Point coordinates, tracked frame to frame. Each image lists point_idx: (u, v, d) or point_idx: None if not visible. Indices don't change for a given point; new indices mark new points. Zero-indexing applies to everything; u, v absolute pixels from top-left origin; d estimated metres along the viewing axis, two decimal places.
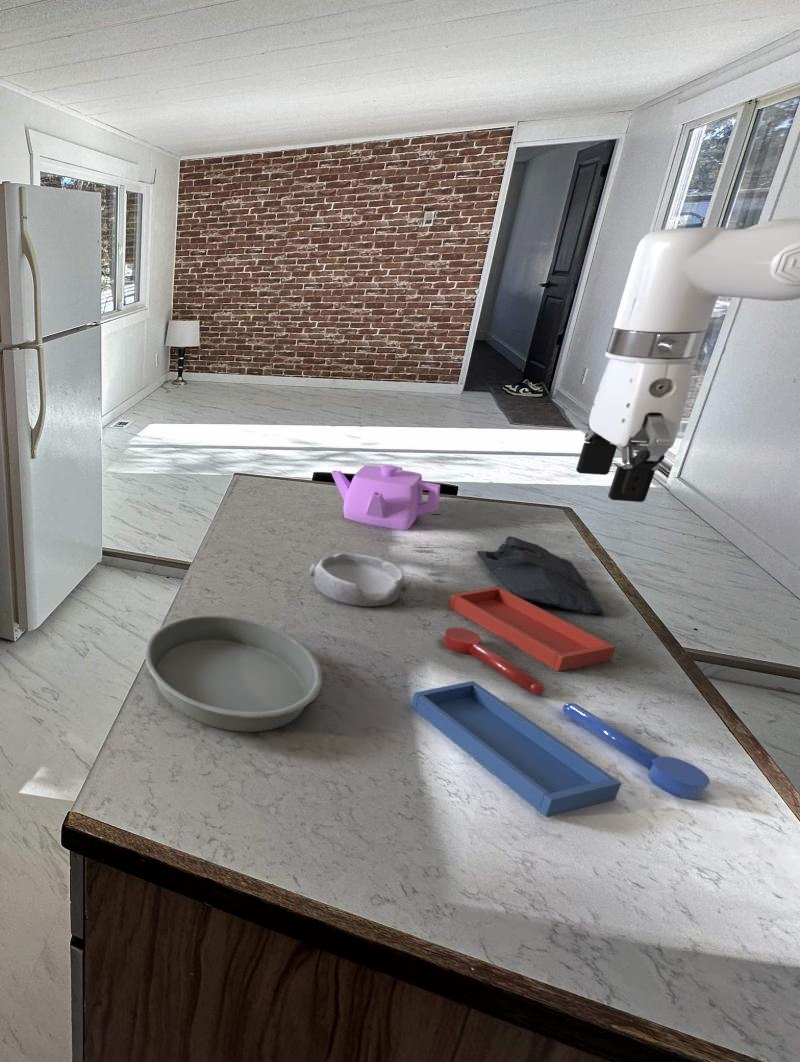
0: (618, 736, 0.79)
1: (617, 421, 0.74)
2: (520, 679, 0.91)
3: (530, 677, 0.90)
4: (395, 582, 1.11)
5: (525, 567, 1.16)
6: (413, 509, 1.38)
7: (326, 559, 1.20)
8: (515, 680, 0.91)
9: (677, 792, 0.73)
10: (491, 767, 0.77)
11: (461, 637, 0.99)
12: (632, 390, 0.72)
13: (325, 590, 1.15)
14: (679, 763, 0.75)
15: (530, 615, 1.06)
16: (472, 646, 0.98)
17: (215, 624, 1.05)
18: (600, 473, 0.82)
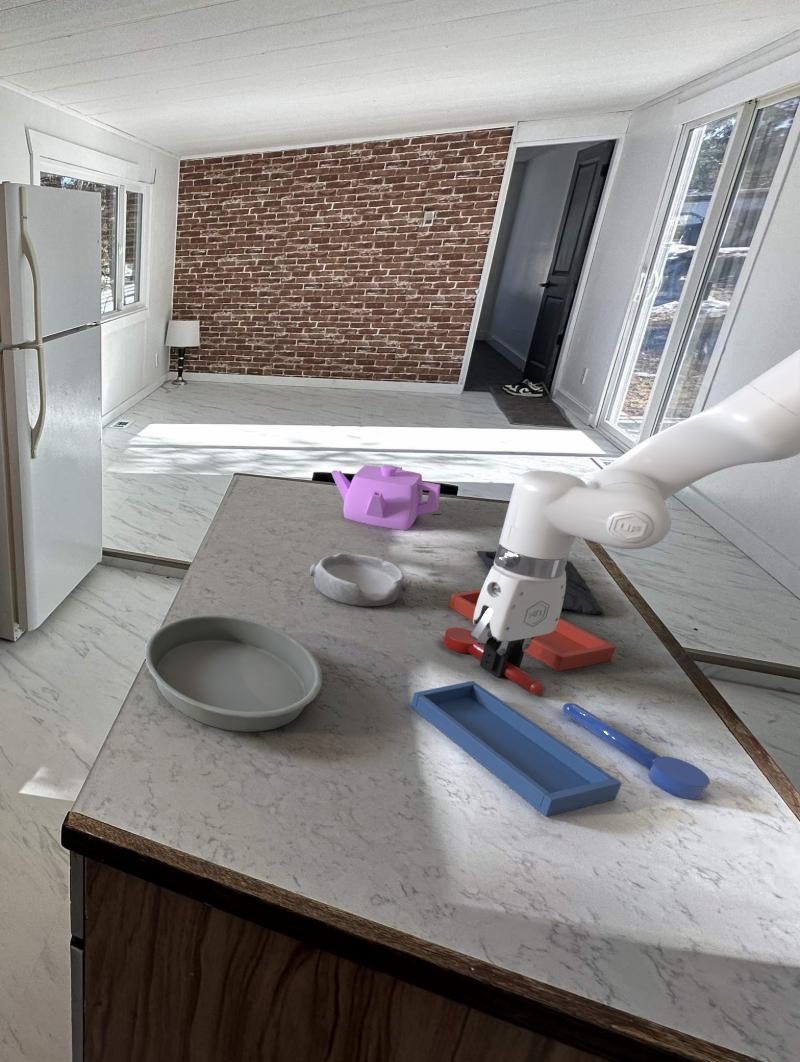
0: (618, 736, 0.79)
1: None
2: (520, 679, 0.91)
3: (530, 677, 0.90)
4: (395, 582, 1.11)
5: None
6: (413, 509, 1.38)
7: (326, 559, 1.20)
8: (515, 680, 0.91)
9: (677, 792, 0.73)
10: (491, 767, 0.77)
11: (460, 637, 0.99)
12: None
13: (325, 590, 1.15)
14: (679, 763, 0.75)
15: None
16: (472, 646, 0.98)
17: (215, 624, 1.05)
18: None
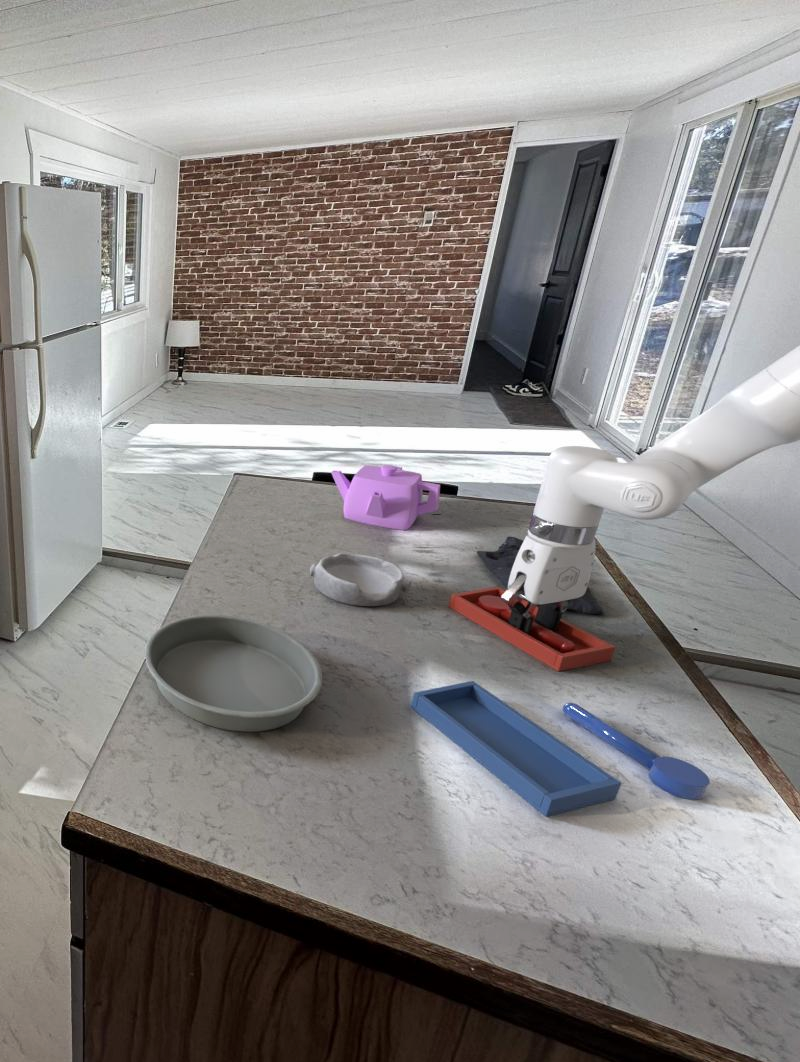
0: (618, 736, 0.79)
1: None
2: (551, 639, 0.98)
3: (561, 637, 0.97)
4: (395, 582, 1.11)
5: None
6: (413, 509, 1.38)
7: (326, 559, 1.20)
8: (546, 640, 0.99)
9: (677, 792, 0.73)
10: (491, 767, 0.77)
11: (493, 604, 1.07)
12: None
13: (325, 590, 1.15)
14: (679, 763, 0.75)
15: None
16: (504, 611, 1.05)
17: (215, 624, 1.05)
18: None
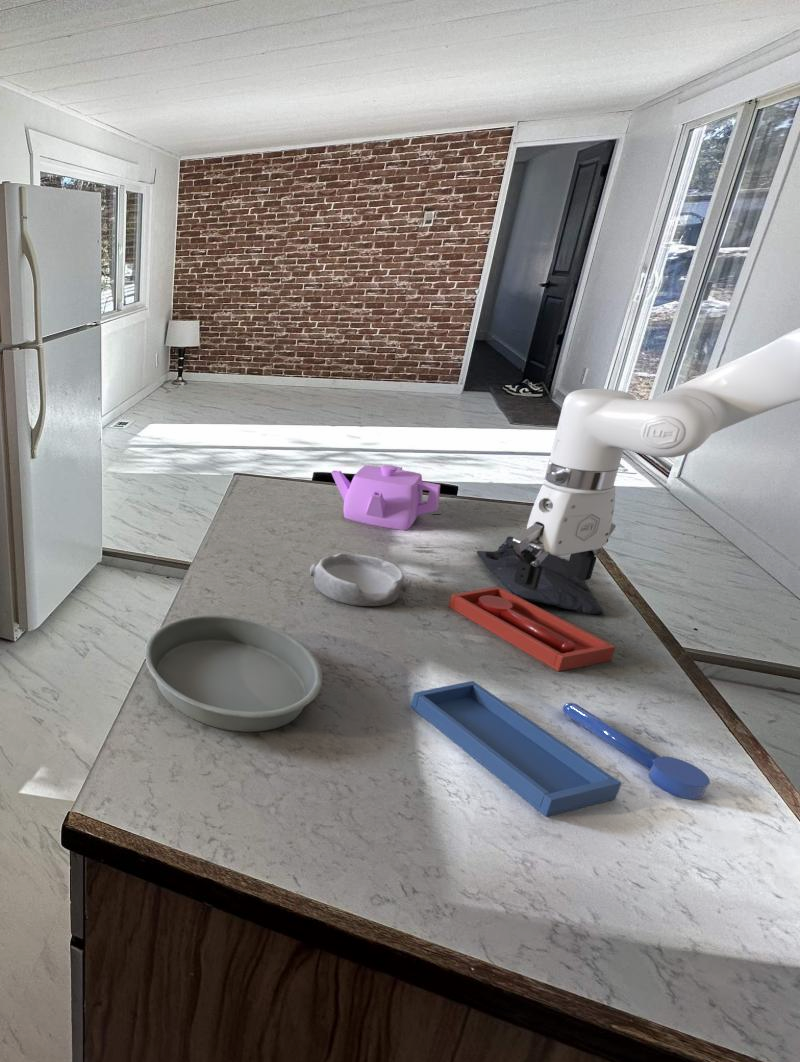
0: (618, 736, 0.79)
1: None
2: (551, 639, 0.98)
3: (561, 637, 0.97)
4: (395, 582, 1.11)
5: None
6: (413, 509, 1.38)
7: (326, 559, 1.20)
8: (546, 640, 0.99)
9: (677, 792, 0.73)
10: (491, 767, 0.77)
11: (493, 604, 1.07)
12: None
13: (325, 590, 1.15)
14: (679, 763, 0.75)
15: (530, 615, 1.06)
16: (504, 611, 1.05)
17: (215, 624, 1.05)
18: (580, 577, 0.98)
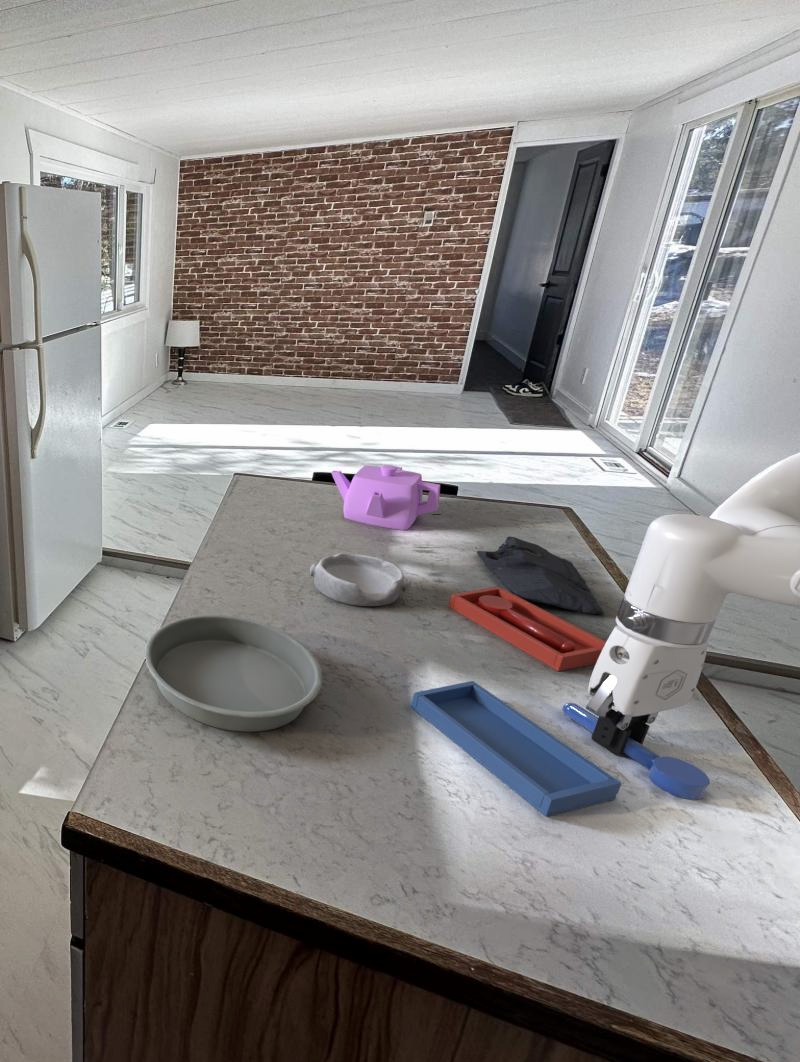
0: None
1: None
2: (551, 639, 0.98)
3: (561, 637, 0.97)
4: (395, 582, 1.11)
5: (525, 567, 1.16)
6: (413, 509, 1.38)
7: (326, 559, 1.20)
8: (546, 640, 0.99)
9: (677, 792, 0.73)
10: (491, 767, 0.77)
11: (493, 604, 1.07)
12: None
13: (325, 590, 1.15)
14: (679, 763, 0.75)
15: (530, 615, 1.06)
16: (504, 611, 1.05)
17: (215, 624, 1.05)
18: None
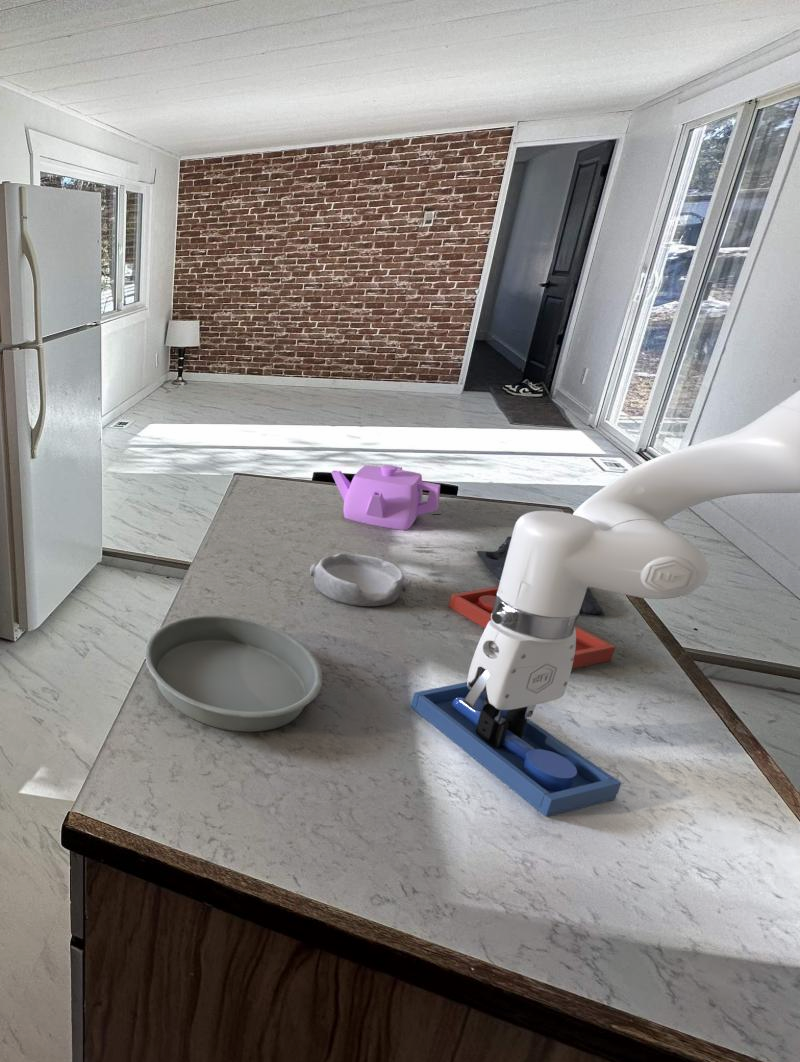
0: None
1: None
2: None
3: None
4: (395, 582, 1.11)
5: None
6: (413, 509, 1.38)
7: (326, 559, 1.20)
8: None
9: (546, 784, 0.74)
10: (491, 767, 0.77)
11: (493, 604, 1.07)
12: None
13: (325, 590, 1.15)
14: (551, 756, 0.76)
15: None
16: None
17: (215, 624, 1.05)
18: None
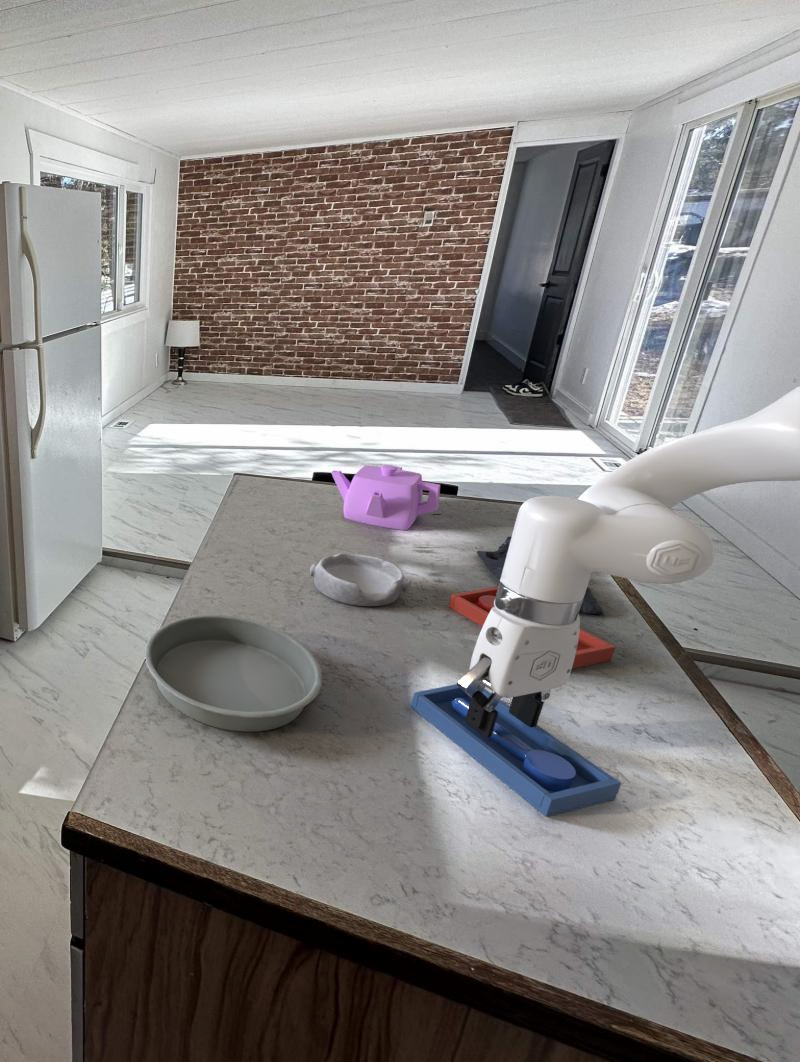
0: (497, 730, 0.81)
1: None
2: None
3: None
4: (395, 582, 1.11)
5: None
6: (413, 509, 1.38)
7: (326, 559, 1.20)
8: None
9: (545, 785, 0.74)
10: (491, 767, 0.77)
11: (493, 604, 1.07)
12: None
13: (325, 590, 1.15)
14: (550, 756, 0.76)
15: None
16: None
17: (215, 624, 1.05)
18: (525, 723, 0.80)
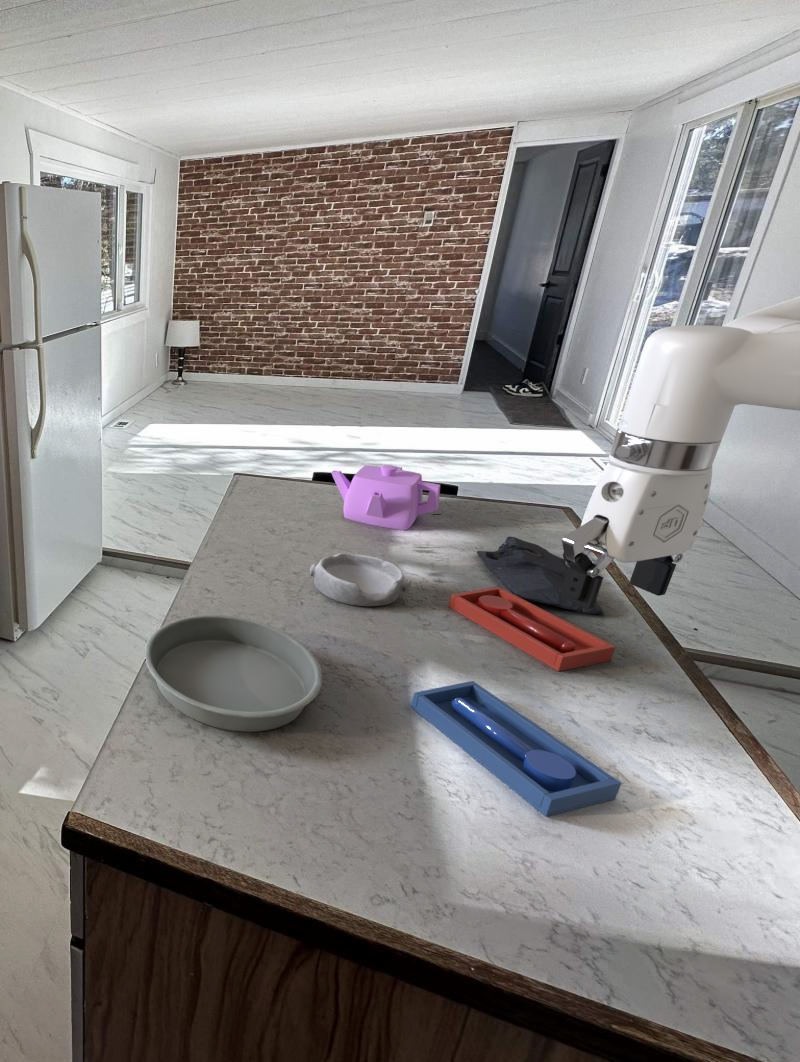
0: (497, 730, 0.81)
1: None
2: (551, 639, 0.98)
3: (561, 637, 0.97)
4: (395, 582, 1.11)
5: (525, 567, 1.16)
6: (413, 509, 1.38)
7: (326, 559, 1.20)
8: (546, 640, 0.99)
9: (545, 785, 0.74)
10: (491, 767, 0.77)
11: (493, 604, 1.07)
12: None
13: (325, 590, 1.15)
14: (550, 756, 0.76)
15: (530, 615, 1.06)
16: (504, 611, 1.05)
17: (215, 624, 1.05)
18: (651, 592, 0.72)
